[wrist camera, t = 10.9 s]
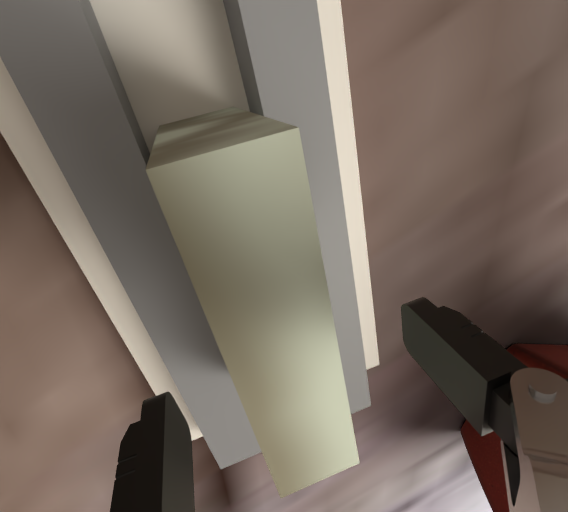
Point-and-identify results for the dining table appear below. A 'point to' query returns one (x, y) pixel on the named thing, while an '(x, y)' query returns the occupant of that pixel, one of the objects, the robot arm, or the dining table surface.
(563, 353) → the plant pot
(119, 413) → the dining table surface
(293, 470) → the door panel
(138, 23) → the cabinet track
